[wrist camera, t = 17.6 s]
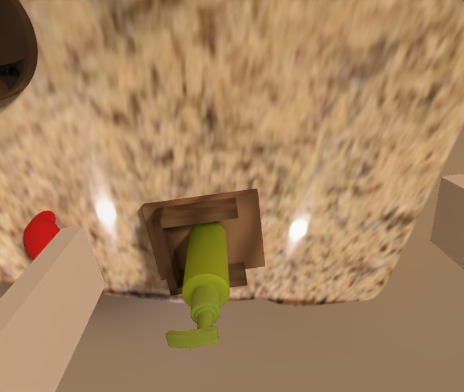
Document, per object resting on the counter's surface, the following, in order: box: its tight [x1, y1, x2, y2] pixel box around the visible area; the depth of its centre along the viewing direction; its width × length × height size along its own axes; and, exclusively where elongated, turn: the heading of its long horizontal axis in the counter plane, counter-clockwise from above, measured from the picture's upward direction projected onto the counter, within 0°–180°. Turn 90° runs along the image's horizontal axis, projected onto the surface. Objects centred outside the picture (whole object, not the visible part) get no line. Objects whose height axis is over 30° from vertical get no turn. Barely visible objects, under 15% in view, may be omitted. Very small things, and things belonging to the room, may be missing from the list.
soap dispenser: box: [166, 222, 230, 348], centre depth 41 cm, size 6×7×20 cm
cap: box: [23, 211, 60, 260], centre depth 47 cm, size 8×6×6 cm
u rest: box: [142, 189, 265, 295], centre depth 49 cm, size 18×14×6 cm
